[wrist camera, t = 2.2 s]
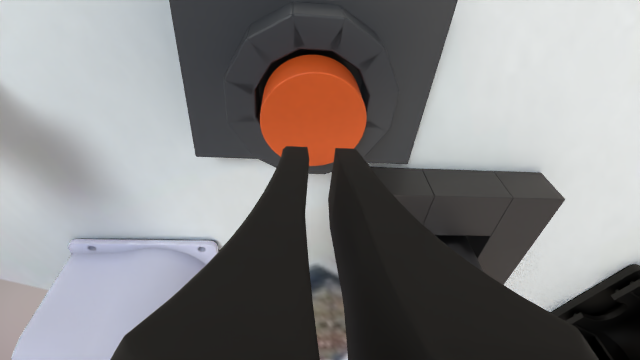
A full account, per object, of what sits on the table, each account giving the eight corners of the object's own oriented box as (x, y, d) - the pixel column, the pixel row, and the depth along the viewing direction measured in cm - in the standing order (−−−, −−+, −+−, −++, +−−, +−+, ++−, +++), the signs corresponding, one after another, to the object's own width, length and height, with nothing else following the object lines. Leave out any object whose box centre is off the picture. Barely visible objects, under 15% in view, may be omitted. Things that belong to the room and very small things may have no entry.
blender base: (345, 277, 27) (349, 305, 25) (369, 166, 20) (377, 194, 19) (476, 276, 28) (489, 304, 27) (541, 172, 22) (565, 199, 20)
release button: (263, 141, 15) (260, 165, 14) (262, 50, 13) (258, 68, 11) (352, 144, 16) (357, 168, 14) (367, 57, 13) (376, 75, 12)
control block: (202, 138, 19) (187, 179, 16) (176, -34, 14) (147, -17, 11) (400, 146, 20) (417, 186, 17) (443, -10, 15) (478, 10, 12)
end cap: (585, 331, 36) (635, 404, 31) (540, 318, 34) (585, 395, 28) (684, 278, 31) (764, 357, 25) (639, 258, 28) (717, 340, 23)
